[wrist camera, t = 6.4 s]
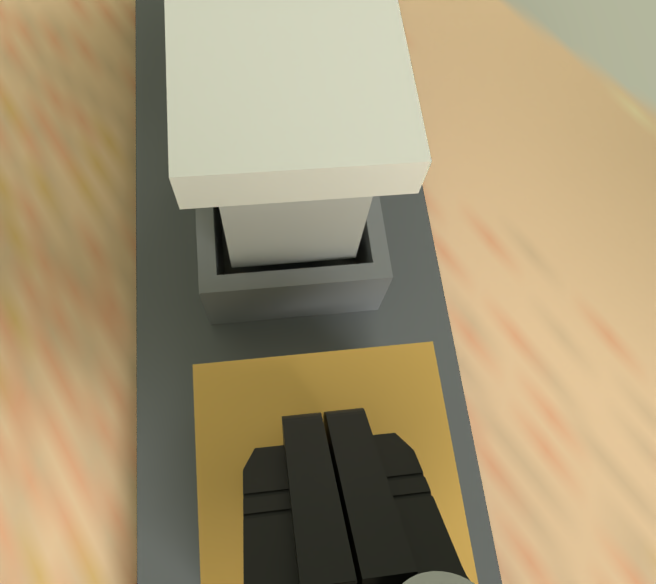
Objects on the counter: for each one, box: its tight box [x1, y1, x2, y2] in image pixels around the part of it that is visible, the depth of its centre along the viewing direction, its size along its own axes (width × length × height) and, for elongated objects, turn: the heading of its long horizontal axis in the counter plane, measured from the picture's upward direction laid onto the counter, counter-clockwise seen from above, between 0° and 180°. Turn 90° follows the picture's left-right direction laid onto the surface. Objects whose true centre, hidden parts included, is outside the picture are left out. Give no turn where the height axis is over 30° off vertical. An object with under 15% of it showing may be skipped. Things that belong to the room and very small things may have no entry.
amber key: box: [193, 341, 478, 584], centre depth 14 cm, size 5×5×6 cm
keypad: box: [136, 0, 502, 584], centre depth 19 cm, size 24×10×4 cm, turn 7°
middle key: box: [164, 0, 432, 268], centre depth 15 cm, size 5×5×6 cm
